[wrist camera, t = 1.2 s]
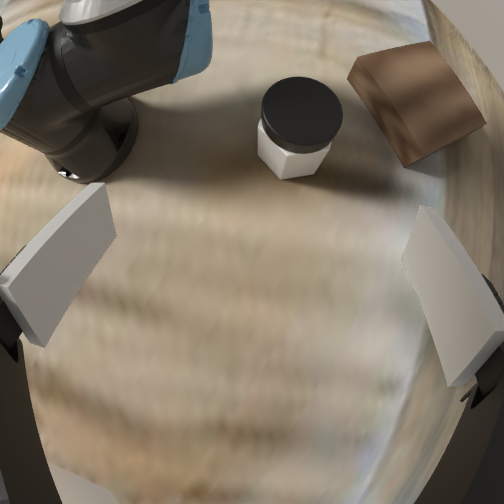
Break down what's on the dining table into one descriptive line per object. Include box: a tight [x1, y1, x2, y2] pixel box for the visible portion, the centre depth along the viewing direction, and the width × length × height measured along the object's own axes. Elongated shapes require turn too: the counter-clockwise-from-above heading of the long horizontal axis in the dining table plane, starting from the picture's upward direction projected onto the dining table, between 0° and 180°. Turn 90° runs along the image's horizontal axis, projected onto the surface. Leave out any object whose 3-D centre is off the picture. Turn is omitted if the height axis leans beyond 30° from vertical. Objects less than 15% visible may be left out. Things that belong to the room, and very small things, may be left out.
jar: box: [258, 77, 343, 179], centre depth 33 cm, size 9×8×12 cm
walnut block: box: [347, 41, 487, 168], centre depth 36 cm, size 16×16×6 cm
